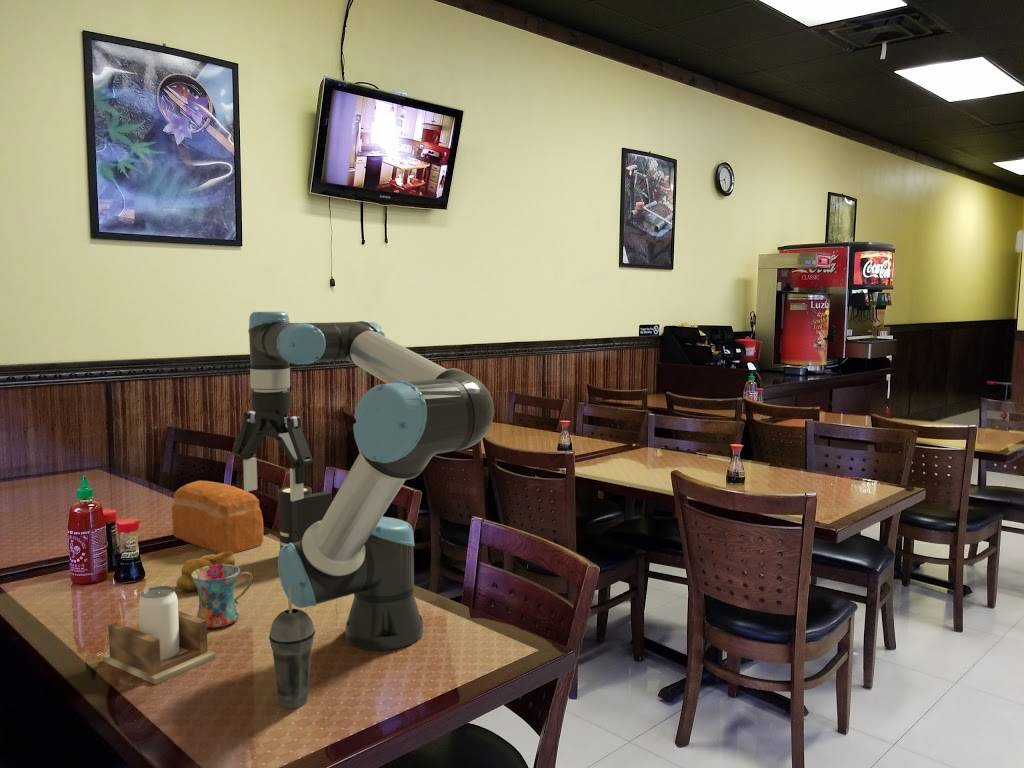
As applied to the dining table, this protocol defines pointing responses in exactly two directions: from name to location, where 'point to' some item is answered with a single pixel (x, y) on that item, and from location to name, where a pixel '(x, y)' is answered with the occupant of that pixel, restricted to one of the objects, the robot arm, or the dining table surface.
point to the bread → (217, 517)
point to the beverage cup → (292, 654)
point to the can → (160, 618)
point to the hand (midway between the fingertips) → (273, 495)
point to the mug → (218, 593)
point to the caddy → (158, 650)
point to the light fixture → (300, 513)
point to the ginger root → (190, 566)
